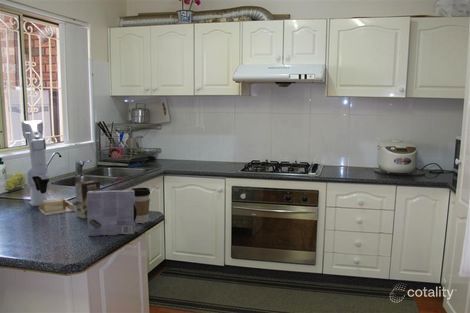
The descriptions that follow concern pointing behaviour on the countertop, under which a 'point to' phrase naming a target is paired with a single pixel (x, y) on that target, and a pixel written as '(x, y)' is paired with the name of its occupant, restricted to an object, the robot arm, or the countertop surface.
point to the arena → (68, 208)
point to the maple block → (54, 204)
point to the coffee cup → (142, 204)
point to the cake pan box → (111, 212)
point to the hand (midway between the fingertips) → (41, 191)
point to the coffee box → (84, 195)
